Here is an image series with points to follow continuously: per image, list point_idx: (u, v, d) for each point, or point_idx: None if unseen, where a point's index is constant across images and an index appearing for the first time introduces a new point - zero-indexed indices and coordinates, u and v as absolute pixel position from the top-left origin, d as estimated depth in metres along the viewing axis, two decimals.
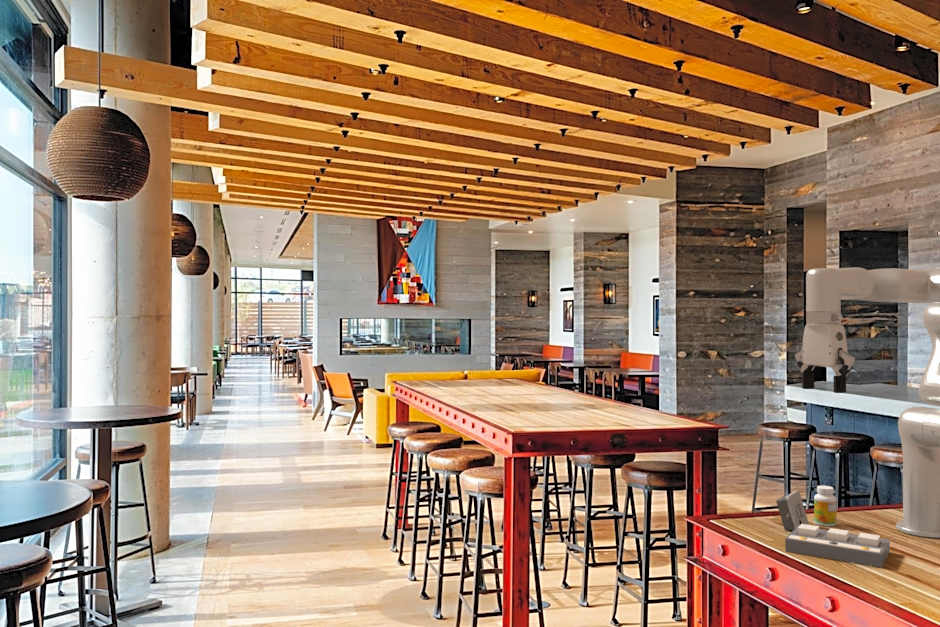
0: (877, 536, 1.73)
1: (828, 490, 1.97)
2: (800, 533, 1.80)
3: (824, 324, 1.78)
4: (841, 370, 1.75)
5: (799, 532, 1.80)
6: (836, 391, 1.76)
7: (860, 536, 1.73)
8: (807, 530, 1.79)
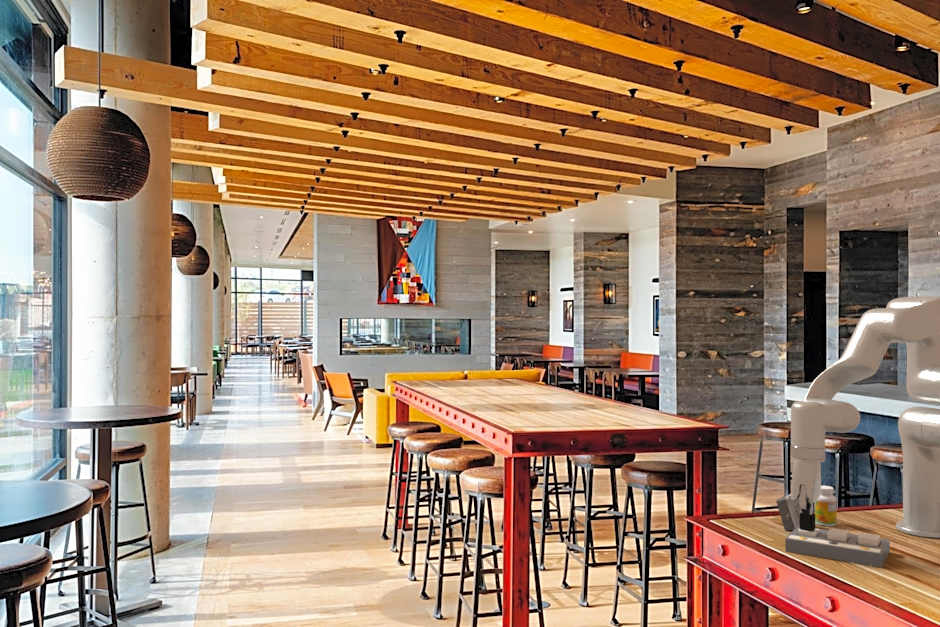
0: (877, 536, 1.73)
1: (828, 490, 1.97)
2: None
3: None
4: None
5: None
6: None
7: (860, 536, 1.73)
8: (807, 533, 1.79)
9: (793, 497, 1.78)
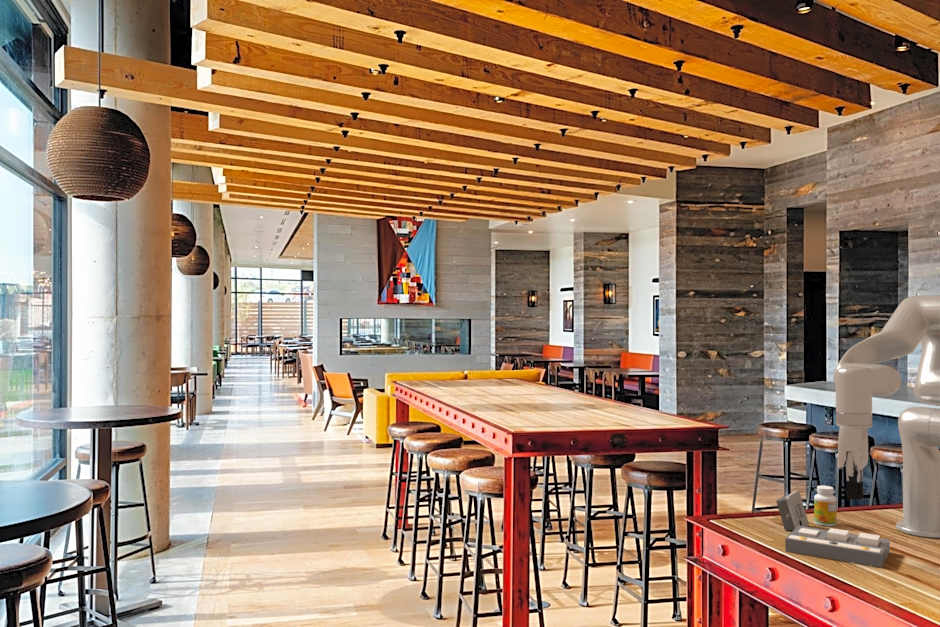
0: (877, 536, 1.73)
1: (828, 490, 1.97)
2: None
3: None
4: None
5: None
6: None
7: (860, 536, 1.73)
8: (807, 534, 1.79)
9: (839, 465, 1.72)
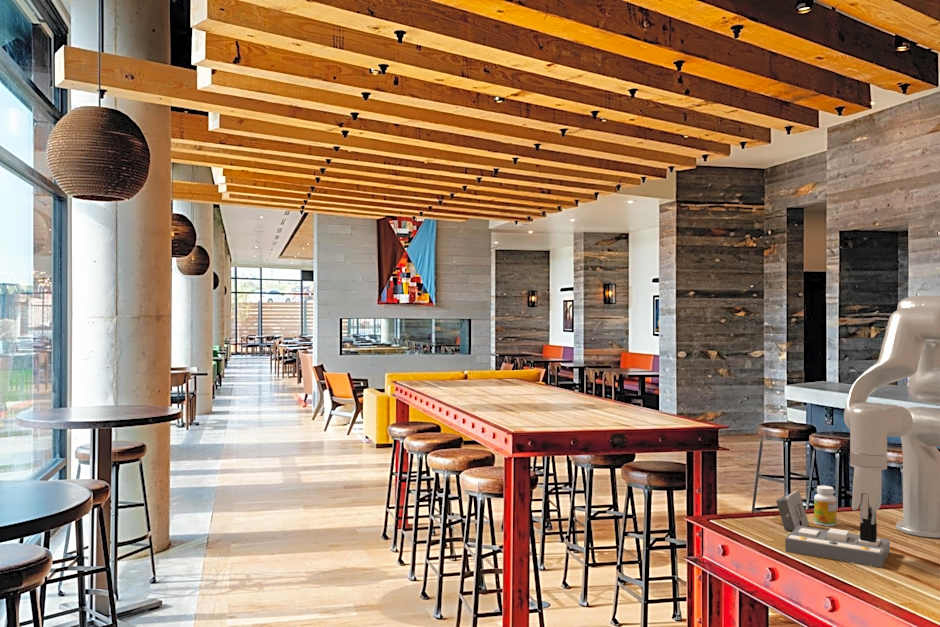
0: (877, 540, 1.73)
1: (828, 490, 1.97)
2: None
3: None
4: None
5: None
6: None
7: (860, 540, 1.73)
8: (807, 534, 1.79)
9: (854, 506, 1.70)
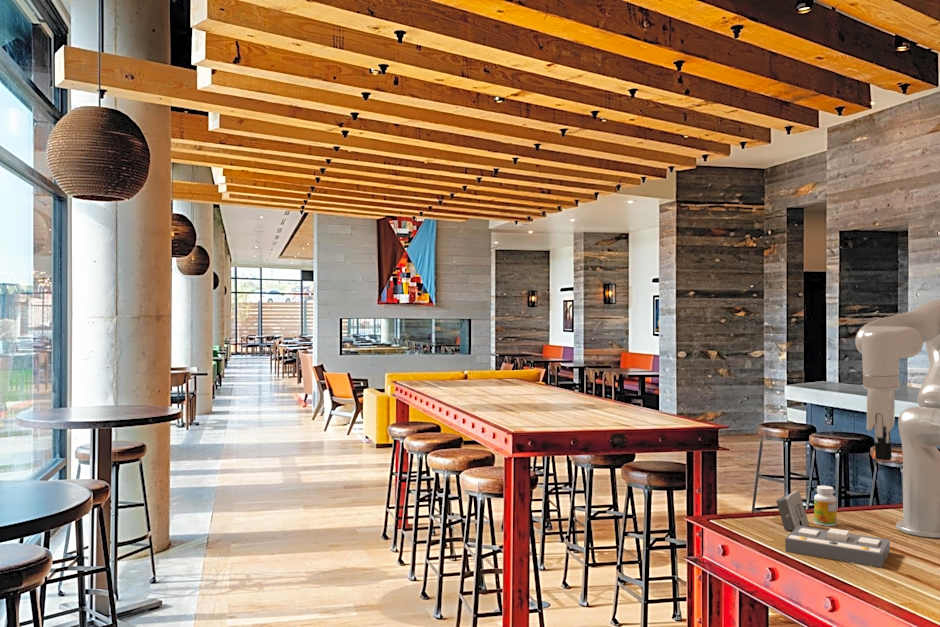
0: (877, 540, 1.73)
1: (828, 490, 1.97)
2: None
3: None
4: None
5: None
6: None
7: (860, 540, 1.73)
8: (807, 534, 1.79)
9: (869, 427, 1.75)
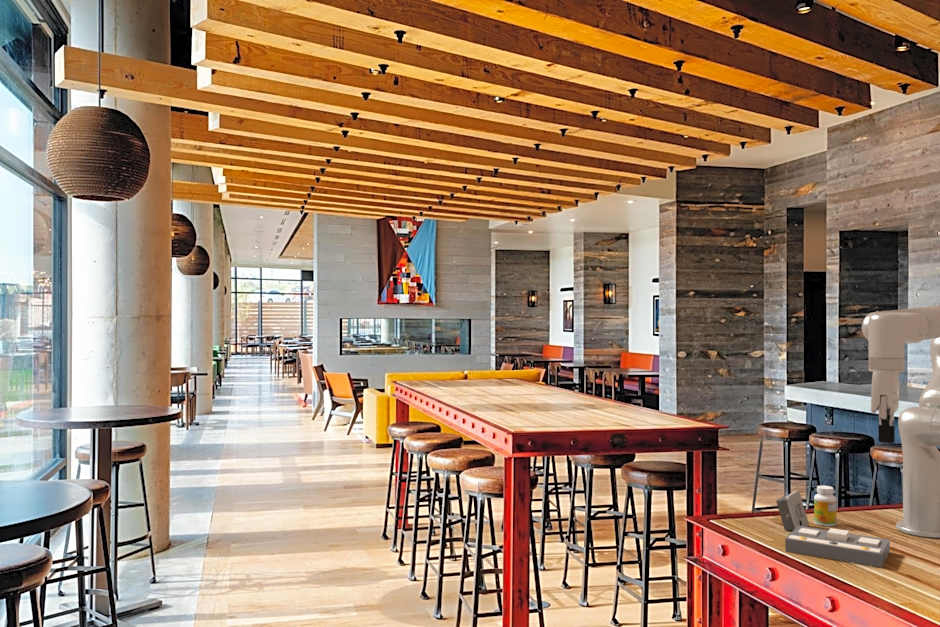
0: (877, 540, 1.73)
1: (828, 490, 1.97)
2: None
3: None
4: None
5: None
6: None
7: (860, 540, 1.73)
8: (807, 534, 1.79)
9: (873, 408, 1.77)
